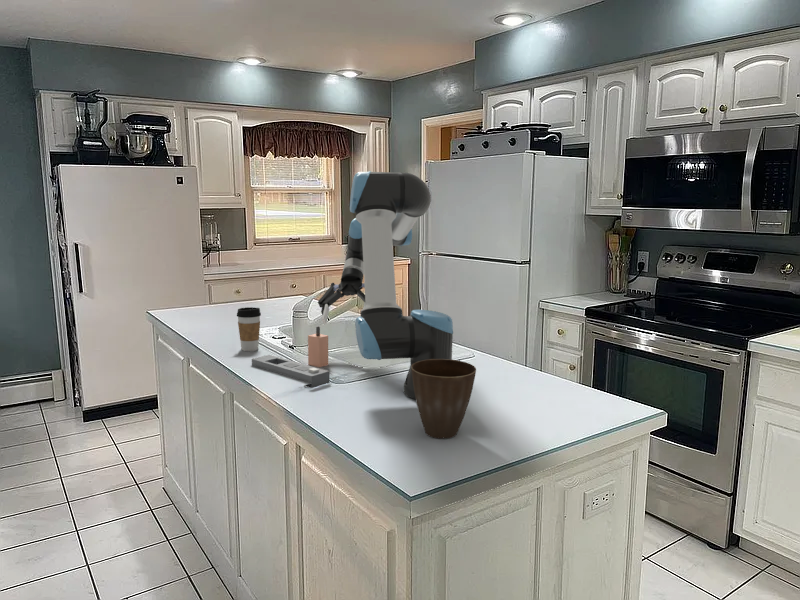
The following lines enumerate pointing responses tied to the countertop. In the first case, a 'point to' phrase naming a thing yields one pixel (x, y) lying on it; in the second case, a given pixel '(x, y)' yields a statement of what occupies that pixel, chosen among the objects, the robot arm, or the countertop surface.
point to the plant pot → (442, 394)
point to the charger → (318, 349)
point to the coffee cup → (249, 328)
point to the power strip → (293, 370)
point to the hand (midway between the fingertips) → (343, 320)
